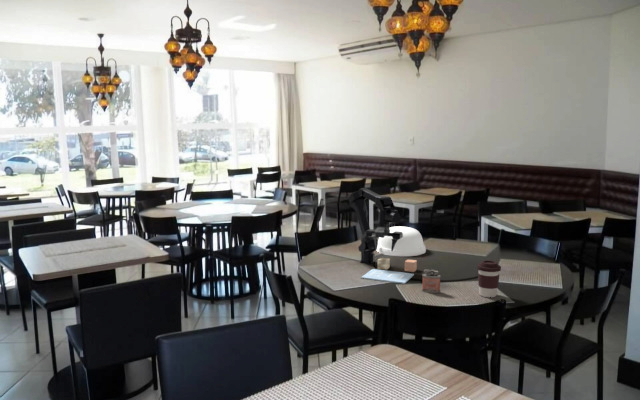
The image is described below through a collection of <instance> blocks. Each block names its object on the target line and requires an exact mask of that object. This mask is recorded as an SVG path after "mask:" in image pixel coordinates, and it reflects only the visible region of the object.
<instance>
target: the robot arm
mask: <svg viewBox="0 0 640 400" xmlns="http://www.w3.org/2000/svg"><path fill="white" fill-rule="evenodd" d="M366 200H369V201H371V202H373V203H374V205H375V206H376V207H377V209H376V210H375V211H376V212H378V223H377V226H376V228H374V229H371V227H370V224H369V221H368V217H367V214H366V211H365V205H366ZM348 203H349V204H350V207H351V208H352V209H353V210H354V211H355V214H356V218H357V222H358V224H359V228H360V232H361V239H360V242H361V243H360V245H359V246H358V248H357V249H358V251H359V252H361V253H360V257H361V259H360V261H359V263H362V264H368V265H369V264H370V265H371V264H373V263H374V262H375V261H376V260H375V259H376V258H375V257H376V256H375V254H376V253H375V252H376V249H377V246H378V238H379V237H381V238H384V237H385V236H392V237H393V239H392V248H391V250H392V251H393V249H394V247H395V244H396V242H397V240H399V239H401V238H402V237H403V233H402V232H397V231H395V232H394V233H390V226H391V224H394V225H398V224H399V223H401V220H402V216H401V214H400V213H399V210H397V209H396V206H395V204H394V202H393V200H392V198H391V197H390V196H388V195H381V194H379V193H376V192H374V191H373V190H371V189H369V188H367V187H363V188H359V189H358V190H357V191H355V192H353V193H352V194H350V195H349V197H348Z"/></svg>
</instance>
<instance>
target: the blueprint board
mask: <svg viewBox="0 0 640 400" xmlns="http://www.w3.org/2000/svg"><path fill="white" fill-rule="evenodd" d="M414 276H415V274H414V273H412V272H411V273H409V272H401V271H394V270H393V271H392V270H383V269H377V268H372V269H371V270H369V271H367V272H366V273H365V274H363V275H362V276H361V277H360V278H361V279H363V278H364V279H365V280H372V281H380V282H389V283H394V284H395V283H396V284H402V285H403V284H405V285H406V283H407V282H409V280H411V278H413V277H414Z"/></svg>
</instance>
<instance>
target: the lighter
mask: <svg viewBox="0 0 640 400" xmlns="http://www.w3.org/2000/svg"><path fill="white" fill-rule="evenodd" d="M421 275H422V288H421V291H422V292H423V293H432V294H434V293H436V294H440V293H441V277H442V276H441V275H440V274H439V271H438V270H434V269H431V270H430V269H424V270H423V273H422V274H421Z"/></svg>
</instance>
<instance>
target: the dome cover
mask: <svg viewBox="0 0 640 400" xmlns="http://www.w3.org/2000/svg"><path fill="white" fill-rule="evenodd" d="M395 231H397V232H402V233H403V237H402V238H401V239H399V240H397V242H396V244H395V247H394V249H393V251H392V250H391V248H392V239H393V237H392V236H385V237H384V238H381V237H378V238H377V240H378V241H377V242H378V246H377V249H376V251H377V252H376V251H375V252H376V253H378V252H379V253H378V254H380V255H385V256H391V257H414V256H421V255H423V254H425V253H426V252H427V249H426V244H425V243H424V240H423V236H422V234H421V233H420V231H419V230H417V229H416V228H413V227H410V226H409V227H408V226H400V225H399V226H395V225H394V226H391V227H390V233H394V232H395Z"/></svg>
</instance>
